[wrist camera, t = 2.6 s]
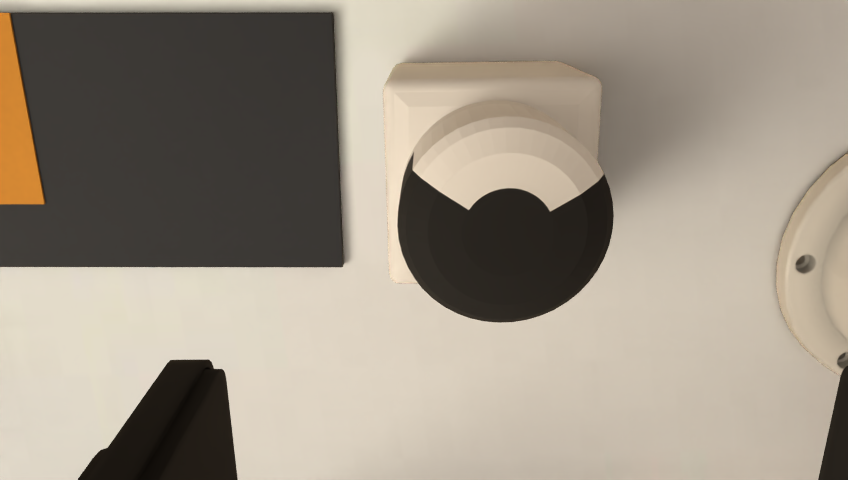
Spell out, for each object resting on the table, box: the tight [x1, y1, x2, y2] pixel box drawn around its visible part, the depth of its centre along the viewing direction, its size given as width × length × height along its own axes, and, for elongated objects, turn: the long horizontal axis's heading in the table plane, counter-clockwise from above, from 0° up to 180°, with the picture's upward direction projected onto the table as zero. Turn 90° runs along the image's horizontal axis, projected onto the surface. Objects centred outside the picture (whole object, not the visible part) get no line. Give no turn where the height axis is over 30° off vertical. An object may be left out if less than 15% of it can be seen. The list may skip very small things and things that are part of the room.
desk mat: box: [0, 13, 344, 267], centre depth 30 cm, size 21×11×1 cm, turn 90°
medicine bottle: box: [383, 61, 613, 322], centre depth 24 cm, size 7×7×12 cm
